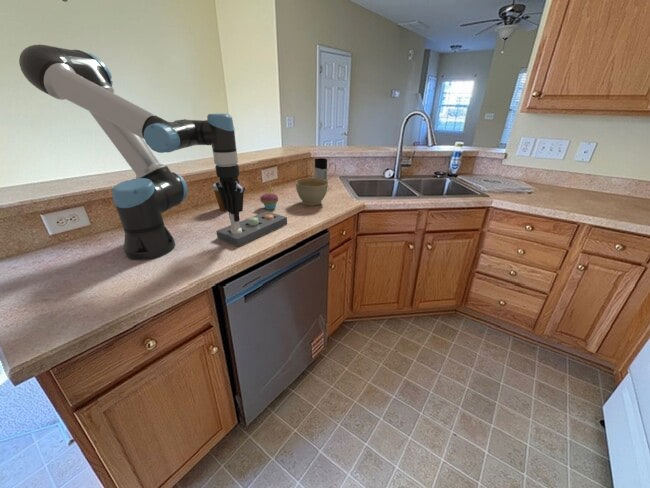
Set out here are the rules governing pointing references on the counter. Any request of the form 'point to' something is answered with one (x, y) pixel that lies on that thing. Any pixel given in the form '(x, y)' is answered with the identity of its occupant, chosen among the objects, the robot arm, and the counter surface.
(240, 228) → the white rounded piece
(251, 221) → the sage button
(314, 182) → the planter bowl
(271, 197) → the cupcake
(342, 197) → the counter surface
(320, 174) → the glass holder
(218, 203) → the disposable coffee cup
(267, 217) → the terracotta button
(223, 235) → the button panel
